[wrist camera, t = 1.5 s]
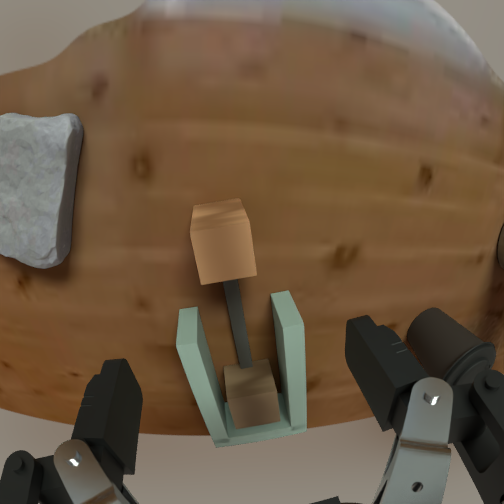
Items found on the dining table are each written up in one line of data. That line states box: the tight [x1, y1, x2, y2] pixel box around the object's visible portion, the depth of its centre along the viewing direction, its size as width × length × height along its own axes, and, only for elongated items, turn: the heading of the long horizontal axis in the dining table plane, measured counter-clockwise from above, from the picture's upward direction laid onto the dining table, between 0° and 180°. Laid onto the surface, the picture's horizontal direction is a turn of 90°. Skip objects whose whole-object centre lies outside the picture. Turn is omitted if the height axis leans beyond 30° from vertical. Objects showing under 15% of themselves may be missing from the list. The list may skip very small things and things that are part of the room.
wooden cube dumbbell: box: [190, 198, 280, 429], centre depth 25 cm, size 4×21×6 cm, turn 8°
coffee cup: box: [407, 308, 496, 386], centre depth 28 cm, size 8×8×10 cm
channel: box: [176, 291, 307, 448], centre depth 28 cm, size 10×15×5 cm, turn 8°
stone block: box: [0, 113, 83, 269], centre depth 20 cm, size 12×5×10 cm
